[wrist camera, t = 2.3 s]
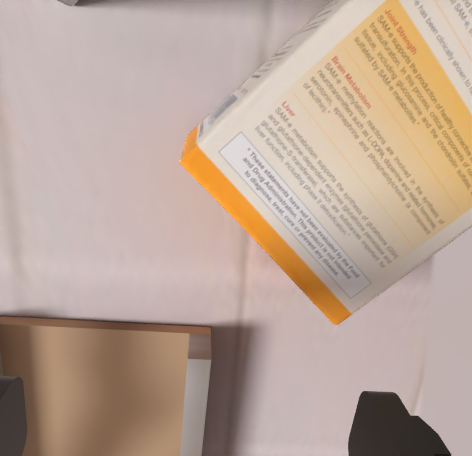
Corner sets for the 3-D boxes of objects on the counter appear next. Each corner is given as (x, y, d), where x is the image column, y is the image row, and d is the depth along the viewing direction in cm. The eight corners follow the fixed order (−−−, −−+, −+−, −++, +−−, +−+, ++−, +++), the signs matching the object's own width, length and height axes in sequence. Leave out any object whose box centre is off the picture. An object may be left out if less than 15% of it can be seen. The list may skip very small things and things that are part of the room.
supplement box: (304, 271, 19) (561, 73, 16) (334, 333, 14) (696, 72, 12) (180, 134, 16) (463, -124, 14) (169, 157, 12) (585, -221, 9)
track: (4, 499, 23) (-18, 546, 20) (-20, 315, 18) (-52, 348, 16) (193, 501, 24) (191, 546, 21) (211, 326, 19) (211, 360, 17)
